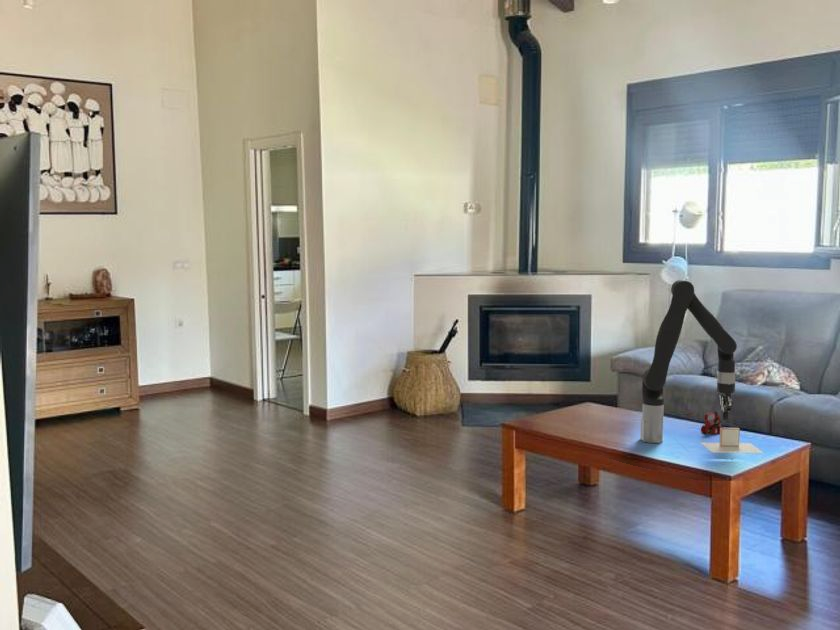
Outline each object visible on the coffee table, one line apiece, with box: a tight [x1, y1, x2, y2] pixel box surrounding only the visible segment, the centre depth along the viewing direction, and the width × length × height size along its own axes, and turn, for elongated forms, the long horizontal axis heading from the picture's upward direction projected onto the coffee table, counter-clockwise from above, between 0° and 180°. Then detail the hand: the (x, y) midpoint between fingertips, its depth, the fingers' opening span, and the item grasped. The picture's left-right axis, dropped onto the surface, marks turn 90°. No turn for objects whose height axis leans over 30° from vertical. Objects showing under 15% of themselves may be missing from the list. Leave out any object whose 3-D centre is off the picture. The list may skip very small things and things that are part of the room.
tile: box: [718, 427, 741, 446], centre depth 347 cm, size 8×2×8 cm, turn 88°
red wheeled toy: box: [700, 411, 725, 435], centre depth 372 cm, size 7×12×10 cm, turn 129°
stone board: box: [700, 442, 764, 454], centre depth 345 cm, size 22×16×1 cm
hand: (725, 419), depth 354 cm, fingers closed
